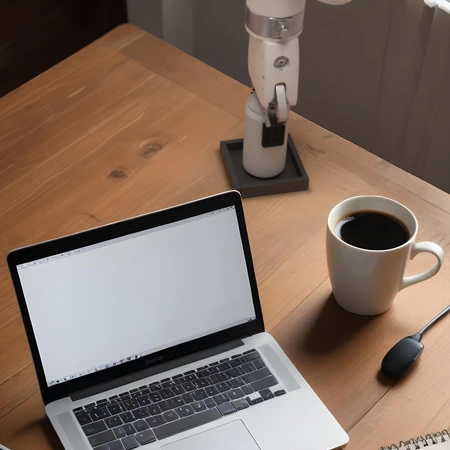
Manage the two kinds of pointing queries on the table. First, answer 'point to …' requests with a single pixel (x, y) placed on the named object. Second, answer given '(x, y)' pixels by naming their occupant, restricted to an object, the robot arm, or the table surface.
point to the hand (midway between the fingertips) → (266, 129)
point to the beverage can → (252, 149)
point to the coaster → (254, 186)
